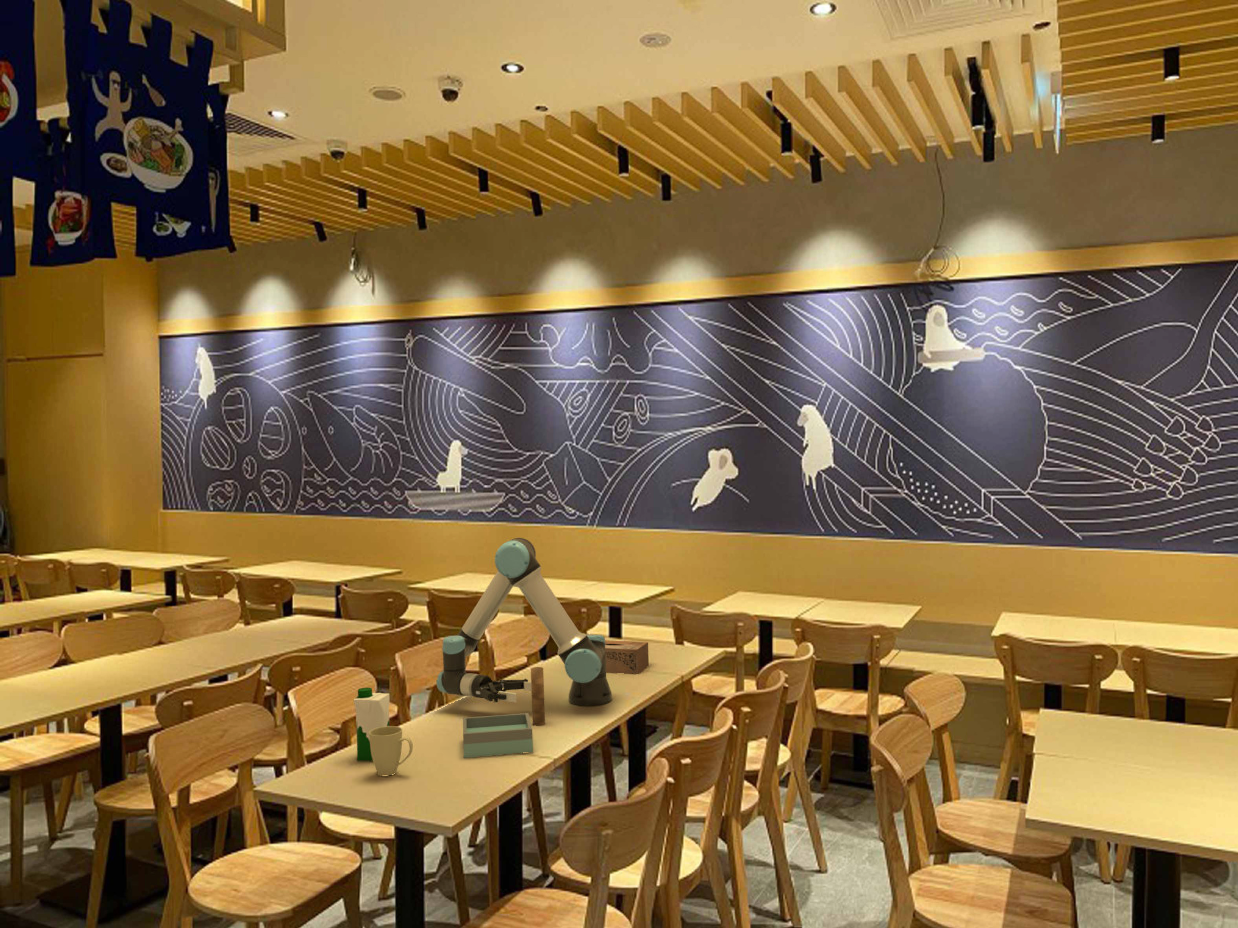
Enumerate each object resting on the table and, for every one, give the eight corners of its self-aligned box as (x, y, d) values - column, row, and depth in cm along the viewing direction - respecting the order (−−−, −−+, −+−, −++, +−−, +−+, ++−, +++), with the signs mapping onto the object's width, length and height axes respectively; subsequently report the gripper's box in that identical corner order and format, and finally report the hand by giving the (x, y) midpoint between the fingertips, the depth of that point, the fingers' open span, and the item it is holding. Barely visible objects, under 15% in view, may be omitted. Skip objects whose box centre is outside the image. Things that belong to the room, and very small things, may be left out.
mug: (373, 782, 260) (372, 738, 259) (368, 771, 269) (366, 728, 268) (414, 775, 264) (412, 732, 264) (407, 765, 273) (405, 723, 273)
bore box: (528, 735, 298) (528, 712, 298) (532, 752, 281) (532, 728, 281) (463, 740, 295) (463, 717, 295) (463, 757, 278) (463, 733, 278)
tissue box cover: (576, 671, 381) (575, 646, 381) (588, 663, 395) (588, 639, 394) (637, 675, 373) (637, 649, 372) (648, 666, 386) (648, 641, 386)
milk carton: (366, 751, 286) (364, 685, 286) (394, 752, 285) (392, 685, 284) (352, 761, 278) (350, 692, 277) (381, 762, 276) (379, 693, 276)
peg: (544, 721, 312) (542, 666, 312) (545, 725, 308) (543, 669, 308) (532, 722, 312) (530, 667, 311) (533, 726, 308) (531, 670, 307)
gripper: (500, 688, 333) (550, 694, 322) (452, 706, 311) (504, 713, 300) (499, 666, 333) (550, 672, 322) (452, 683, 311) (504, 690, 300)
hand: (528, 692), depth 311 cm, fingers open, 13 cm apart
